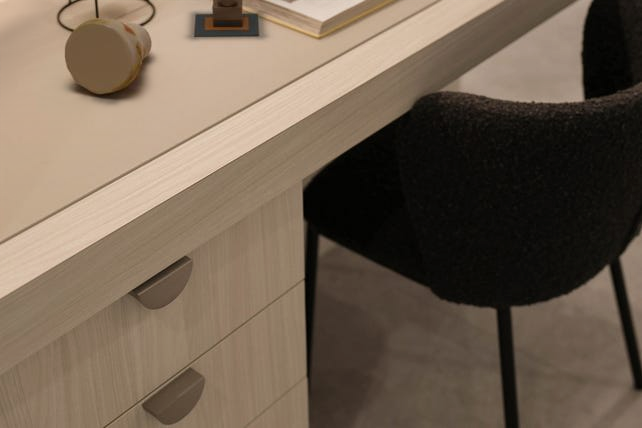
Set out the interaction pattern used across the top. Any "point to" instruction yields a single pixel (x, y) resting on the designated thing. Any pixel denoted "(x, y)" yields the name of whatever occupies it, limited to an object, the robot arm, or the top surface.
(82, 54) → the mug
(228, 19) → the stamp
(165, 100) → the top surface
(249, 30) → the mat
